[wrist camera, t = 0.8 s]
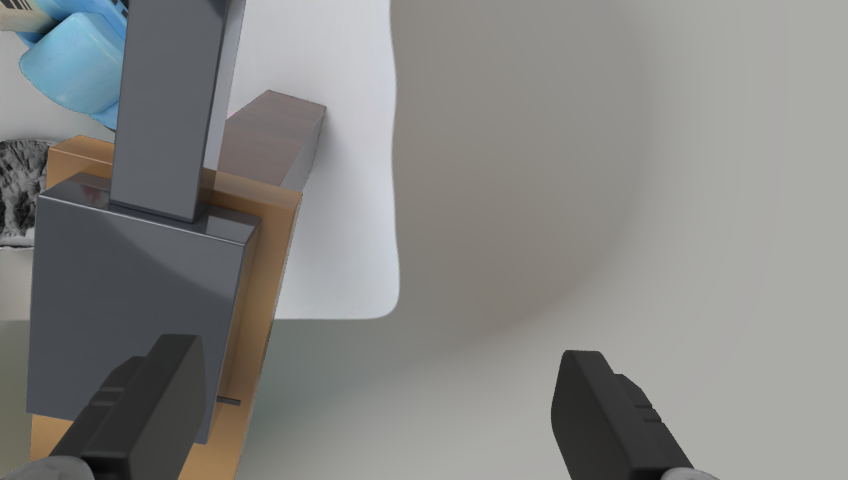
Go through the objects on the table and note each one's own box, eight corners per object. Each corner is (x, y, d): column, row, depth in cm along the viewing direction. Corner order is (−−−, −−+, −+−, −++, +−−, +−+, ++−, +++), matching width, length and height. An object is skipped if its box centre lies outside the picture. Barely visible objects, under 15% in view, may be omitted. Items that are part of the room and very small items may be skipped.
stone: (248, 271, 54) (256, 169, 50) (239, 286, 51) (247, 179, 47) (6, 234, 51) (-3, 126, 48) (-19, 248, 48) (-31, 133, 45)
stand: (254, 60, 47) (46, 147, 18) (348, 88, 48) (295, 210, 19) (226, 209, 51) (27, 464, 23) (313, 230, 53) (229, 498, 24)
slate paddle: (104, -142, 15) (53, -168, 13) (322, -67, 16) (312, -79, 14) (62, 369, 21) (23, 413, 19) (224, 401, 22) (206, 446, 20)
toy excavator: (65, -118, 41) (-135, -195, 25) (219, 79, 47) (134, 116, 31) (-18, -47, 42) (-258, -78, 27) (141, 136, 48) (22, 199, 33)
